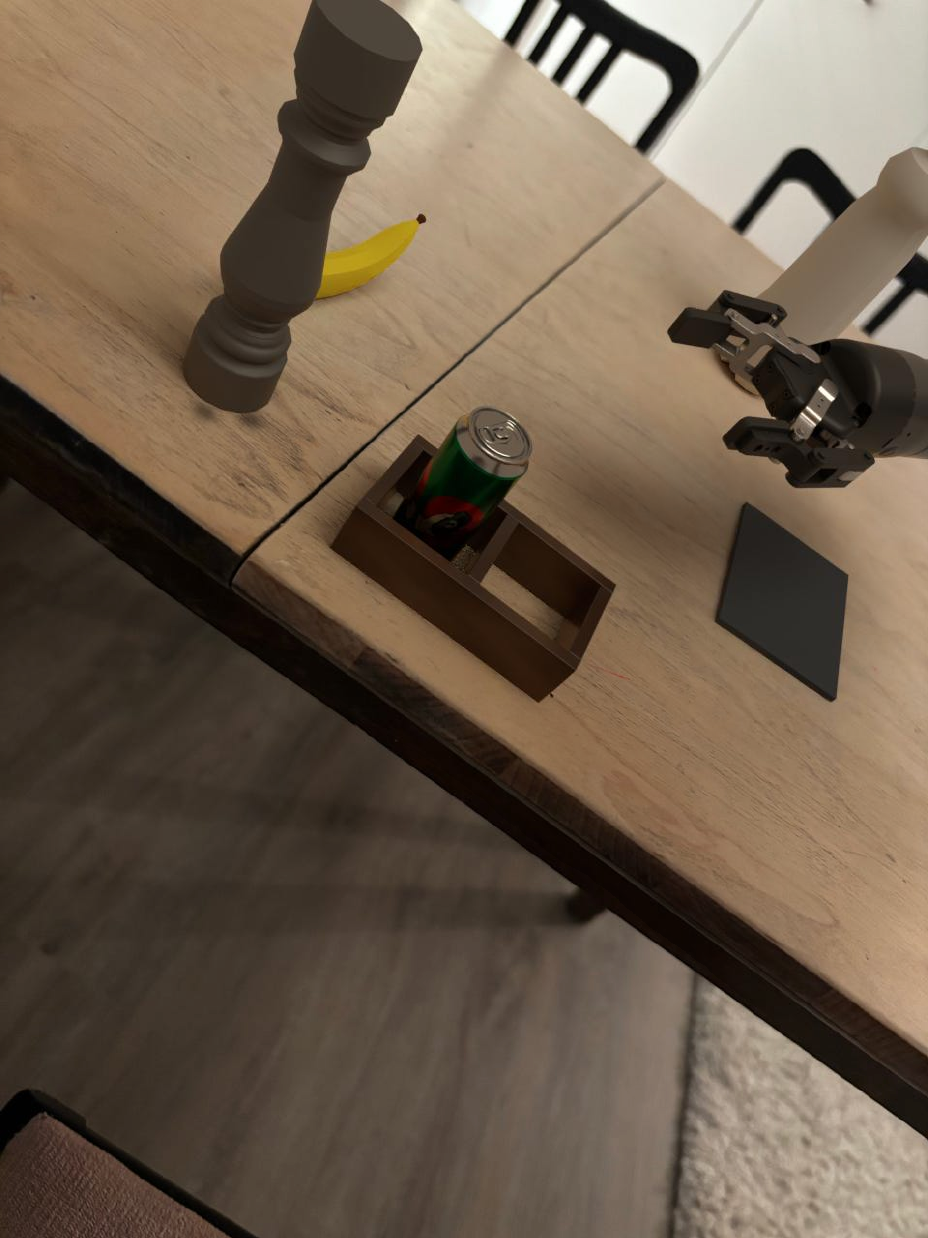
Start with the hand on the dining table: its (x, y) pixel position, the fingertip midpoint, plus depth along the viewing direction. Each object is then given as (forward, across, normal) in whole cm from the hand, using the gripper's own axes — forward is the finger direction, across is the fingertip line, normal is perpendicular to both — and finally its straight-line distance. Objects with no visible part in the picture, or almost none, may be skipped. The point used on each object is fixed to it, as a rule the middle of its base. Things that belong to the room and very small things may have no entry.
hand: (704, 377), depth 57 cm
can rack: (+8, +3, +18) cm, 20 cm away
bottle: (-37, -23, +19) cm, 47 cm away
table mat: (-24, +5, +18) cm, 31 cm away
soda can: (+11, 0, +19) cm, 22 cm away
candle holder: (+21, -14, +19) cm, 32 cm away
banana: (+13, -24, +19) cm, 33 cm away
